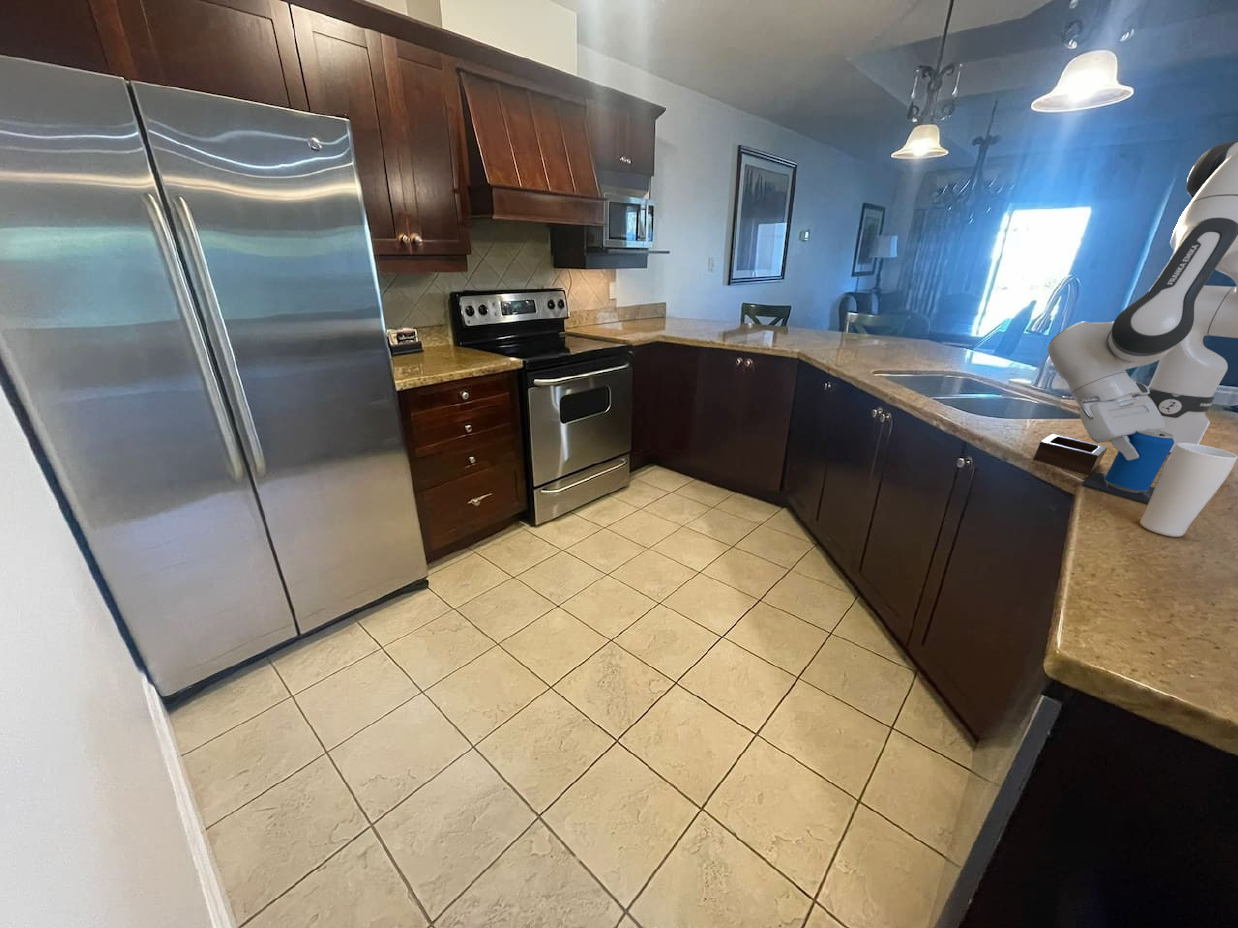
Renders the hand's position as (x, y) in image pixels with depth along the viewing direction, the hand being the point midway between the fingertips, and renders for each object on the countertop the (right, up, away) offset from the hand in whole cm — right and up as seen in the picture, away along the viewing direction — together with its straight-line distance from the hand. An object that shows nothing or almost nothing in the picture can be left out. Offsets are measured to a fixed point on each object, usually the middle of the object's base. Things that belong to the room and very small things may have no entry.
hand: (1145, 456), depth 93 cm
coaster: (-1, -7, +4) cm, 8 cm away
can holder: (0, -1, +17) cm, 17 cm away
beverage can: (-1, -6, +3) cm, 7 cm away
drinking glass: (-11, -13, -12) cm, 20 cm away
